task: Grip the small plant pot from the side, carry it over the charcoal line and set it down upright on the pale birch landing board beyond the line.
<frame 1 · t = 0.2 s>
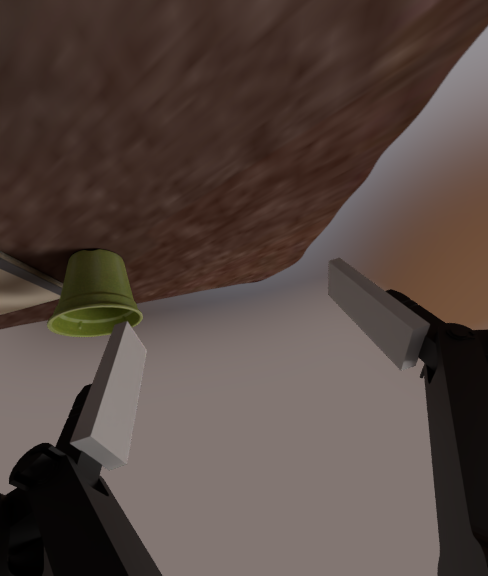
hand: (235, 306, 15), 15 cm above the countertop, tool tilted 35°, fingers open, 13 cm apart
plant pot: (96, 260, 30), on the countertop
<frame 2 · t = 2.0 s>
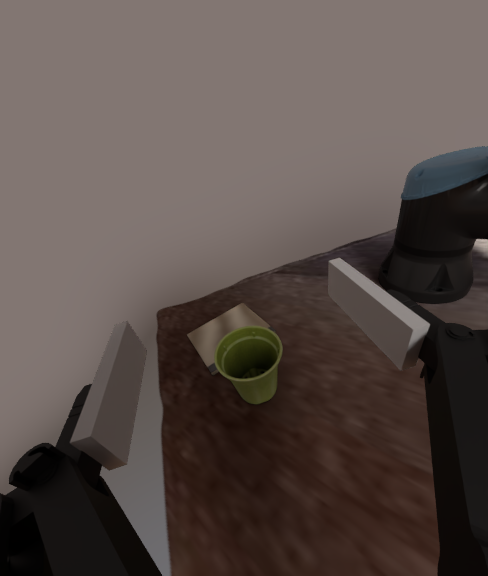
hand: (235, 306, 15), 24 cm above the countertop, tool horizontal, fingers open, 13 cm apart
landing board: (230, 335, 46), on the countertop
plant pot: (258, 386, 36), on the countertop
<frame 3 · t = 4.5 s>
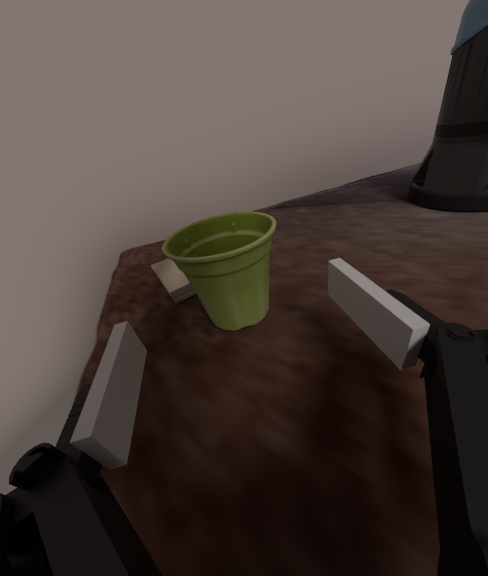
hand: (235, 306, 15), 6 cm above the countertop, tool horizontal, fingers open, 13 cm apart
landing board: (207, 263, 34), on the countertop
plant pot: (240, 311, 24), on the countertop
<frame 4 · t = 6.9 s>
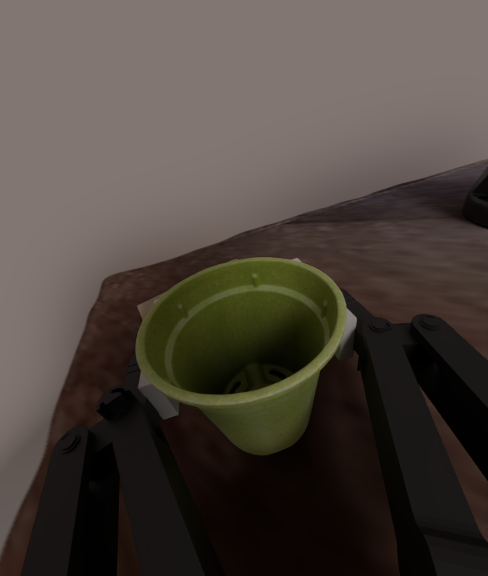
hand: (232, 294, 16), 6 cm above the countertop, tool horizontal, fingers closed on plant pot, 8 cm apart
plant pot: (265, 404, 16), on the countertop, touching gripper
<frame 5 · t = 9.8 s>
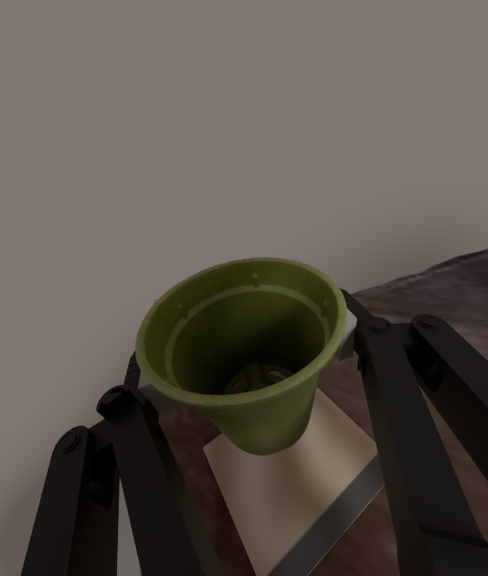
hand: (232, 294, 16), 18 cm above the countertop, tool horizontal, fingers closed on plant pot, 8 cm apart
landing board: (292, 459, 23), on the countertop
plant pot: (265, 404, 16), point 12 cm above the countertop, touching gripper
when the fingers open (8 cm above the countertop, at t = 12.7 s): plant pot drops 1 cm, resting on landing board.
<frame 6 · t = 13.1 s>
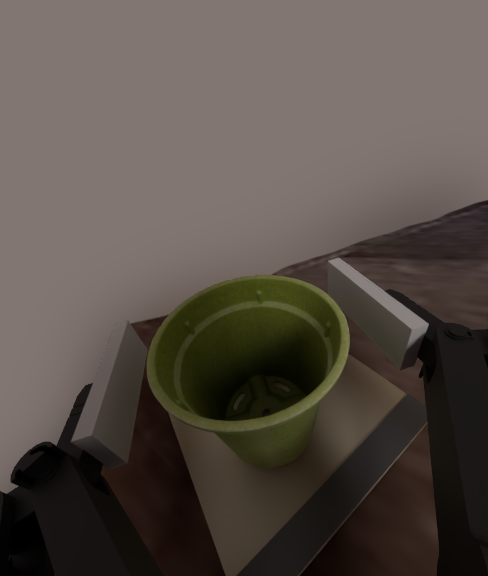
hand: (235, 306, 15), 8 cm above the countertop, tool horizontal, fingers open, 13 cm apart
landing board: (283, 413, 17), on the countertop
plant pot: (268, 416, 16), point 1 cm above the countertop, touching landing board
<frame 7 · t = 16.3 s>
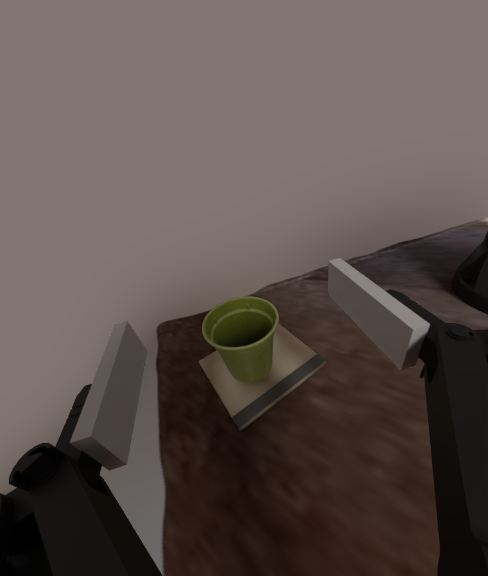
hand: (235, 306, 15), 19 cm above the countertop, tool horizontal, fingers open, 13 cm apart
landing board: (259, 364, 33), on the countertop
plant pot: (251, 365, 33), point 1 cm above the countertop, touching landing board
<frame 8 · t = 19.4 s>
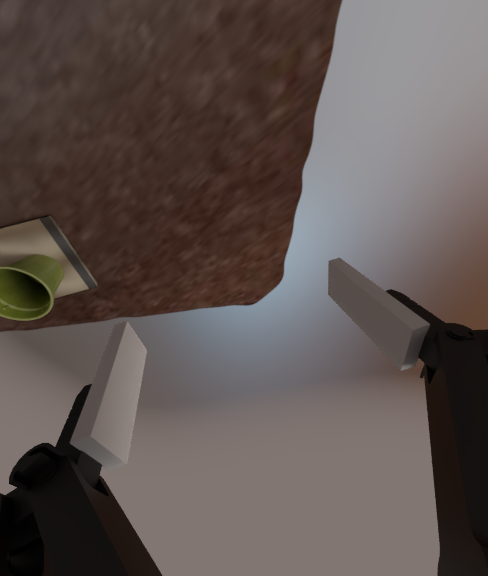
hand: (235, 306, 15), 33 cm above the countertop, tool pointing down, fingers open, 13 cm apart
landing board: (43, 262, 41), on the countertop
plant pot: (44, 268, 42), point 1 cm above the countertop, touching landing board
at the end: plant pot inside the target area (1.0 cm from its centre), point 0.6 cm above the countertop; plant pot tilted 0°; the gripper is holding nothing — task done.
